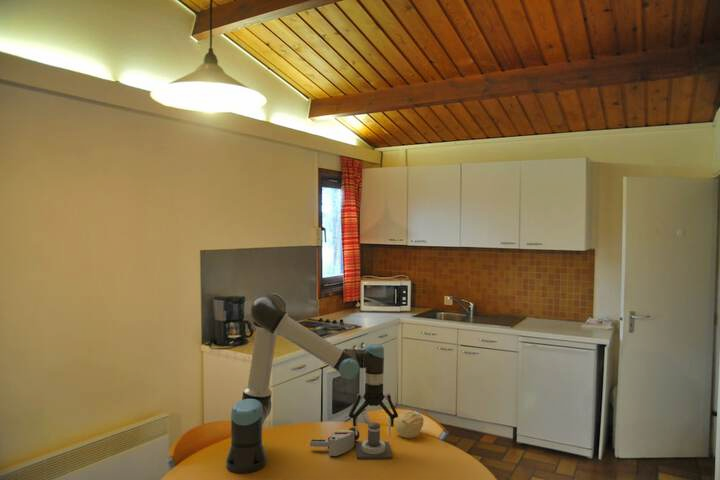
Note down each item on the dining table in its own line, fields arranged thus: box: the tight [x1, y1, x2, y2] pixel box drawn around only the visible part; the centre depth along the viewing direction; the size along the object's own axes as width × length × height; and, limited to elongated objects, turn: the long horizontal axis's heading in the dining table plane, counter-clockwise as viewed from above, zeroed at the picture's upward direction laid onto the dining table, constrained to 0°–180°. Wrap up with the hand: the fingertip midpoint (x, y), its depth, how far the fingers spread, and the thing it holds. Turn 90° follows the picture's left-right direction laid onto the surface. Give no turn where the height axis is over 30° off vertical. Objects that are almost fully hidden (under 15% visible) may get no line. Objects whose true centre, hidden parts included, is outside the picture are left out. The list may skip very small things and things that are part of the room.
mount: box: [355, 439, 393, 460], centre depth 204 cm, size 14×14×3 cm
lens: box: [367, 422, 381, 448], centre depth 204 cm, size 5×5×10 cm
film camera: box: [309, 426, 360, 457], centre depth 208 cm, size 7×19×15 cm
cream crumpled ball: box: [394, 410, 424, 439], centre depth 221 cm, size 12×12×11 cm
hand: (372, 434), depth 204 cm, fingers open, 13 cm apart
